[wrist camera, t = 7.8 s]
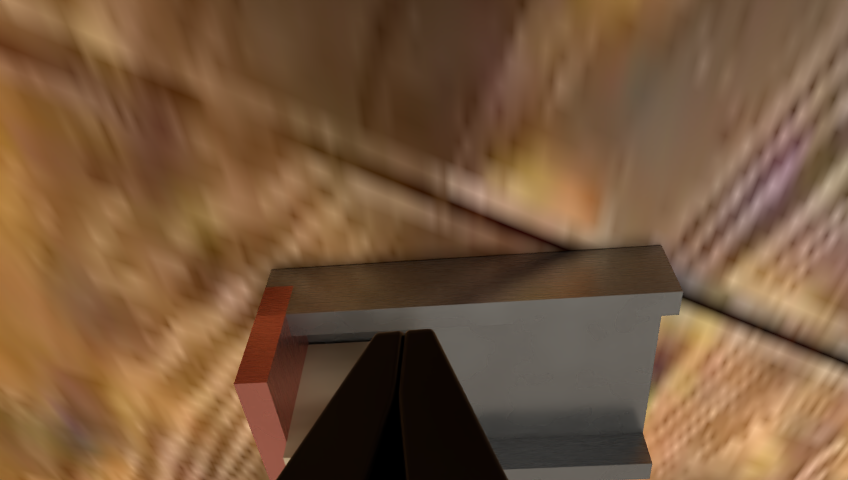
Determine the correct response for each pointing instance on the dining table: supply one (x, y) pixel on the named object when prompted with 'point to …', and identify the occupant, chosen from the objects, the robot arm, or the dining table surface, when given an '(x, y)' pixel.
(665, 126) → the dining table surface
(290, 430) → the block
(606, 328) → the grey open tray
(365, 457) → the robot arm
